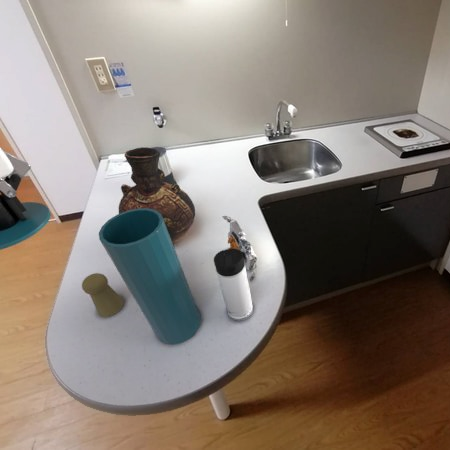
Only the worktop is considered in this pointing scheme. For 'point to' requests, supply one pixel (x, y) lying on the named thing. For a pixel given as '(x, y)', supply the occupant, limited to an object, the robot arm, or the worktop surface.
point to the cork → (102, 295)
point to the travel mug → (234, 283)
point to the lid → (21, 222)
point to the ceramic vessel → (156, 193)
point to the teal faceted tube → (152, 272)
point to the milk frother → (164, 166)
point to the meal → (241, 244)
